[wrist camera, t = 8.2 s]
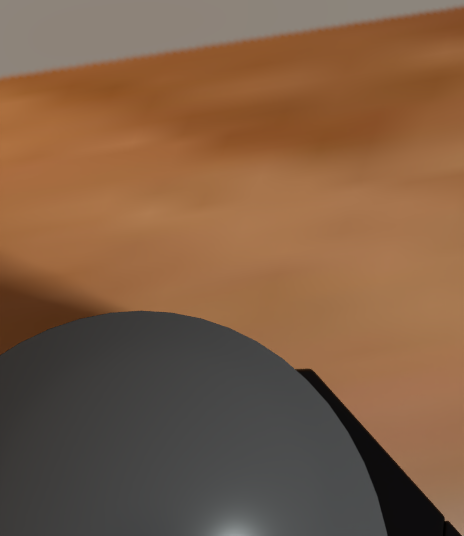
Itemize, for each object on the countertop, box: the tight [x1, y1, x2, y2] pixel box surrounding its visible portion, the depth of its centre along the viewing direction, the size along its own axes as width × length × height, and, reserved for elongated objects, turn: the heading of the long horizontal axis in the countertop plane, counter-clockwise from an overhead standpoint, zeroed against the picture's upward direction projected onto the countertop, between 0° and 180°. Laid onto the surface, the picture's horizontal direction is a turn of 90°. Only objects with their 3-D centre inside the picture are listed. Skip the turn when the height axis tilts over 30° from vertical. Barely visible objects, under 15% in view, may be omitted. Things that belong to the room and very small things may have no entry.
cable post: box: [0, 311, 387, 536], centre depth 9 cm, size 5×5×11 cm
